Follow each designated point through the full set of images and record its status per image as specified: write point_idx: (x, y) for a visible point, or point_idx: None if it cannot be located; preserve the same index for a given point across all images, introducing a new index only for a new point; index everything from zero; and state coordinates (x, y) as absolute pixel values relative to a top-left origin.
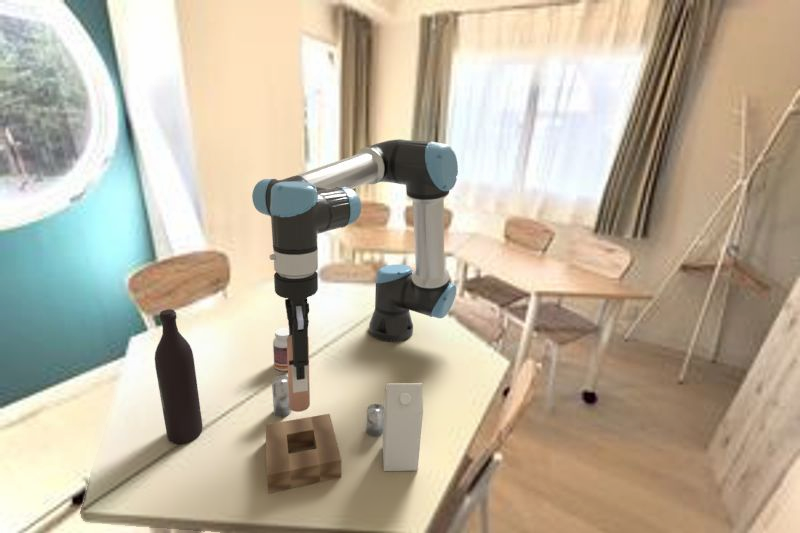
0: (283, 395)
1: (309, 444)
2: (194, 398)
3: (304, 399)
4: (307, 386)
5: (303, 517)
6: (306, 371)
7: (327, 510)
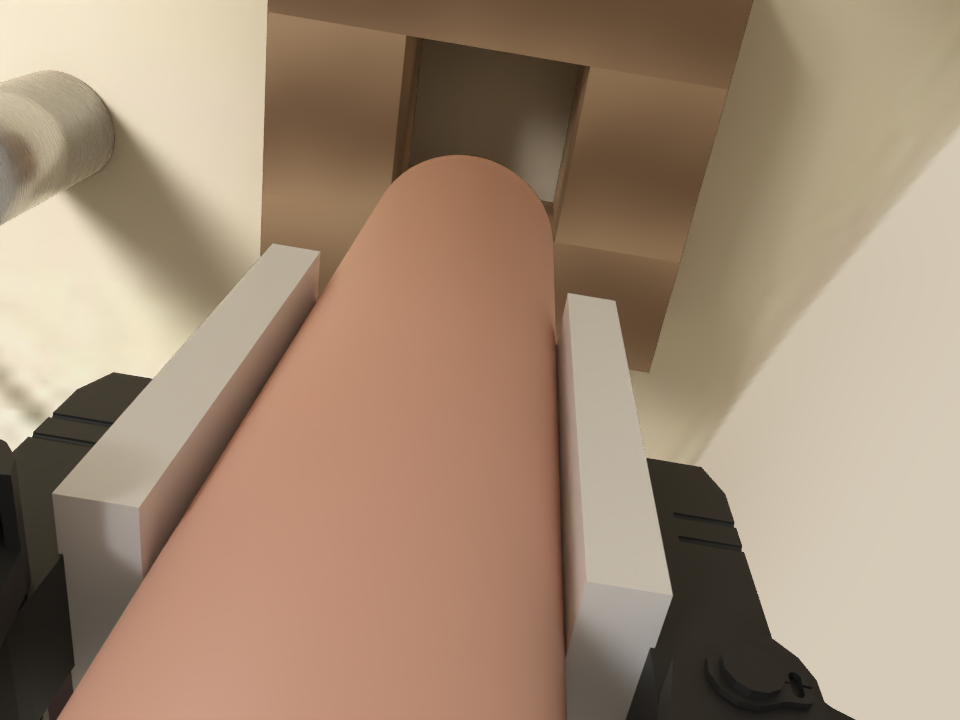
0: (21, 165)
1: (419, 50)
2: (63, 685)
3: (552, 268)
4: (617, 327)
5: (854, 208)
6: (642, 466)
7: (893, 87)
